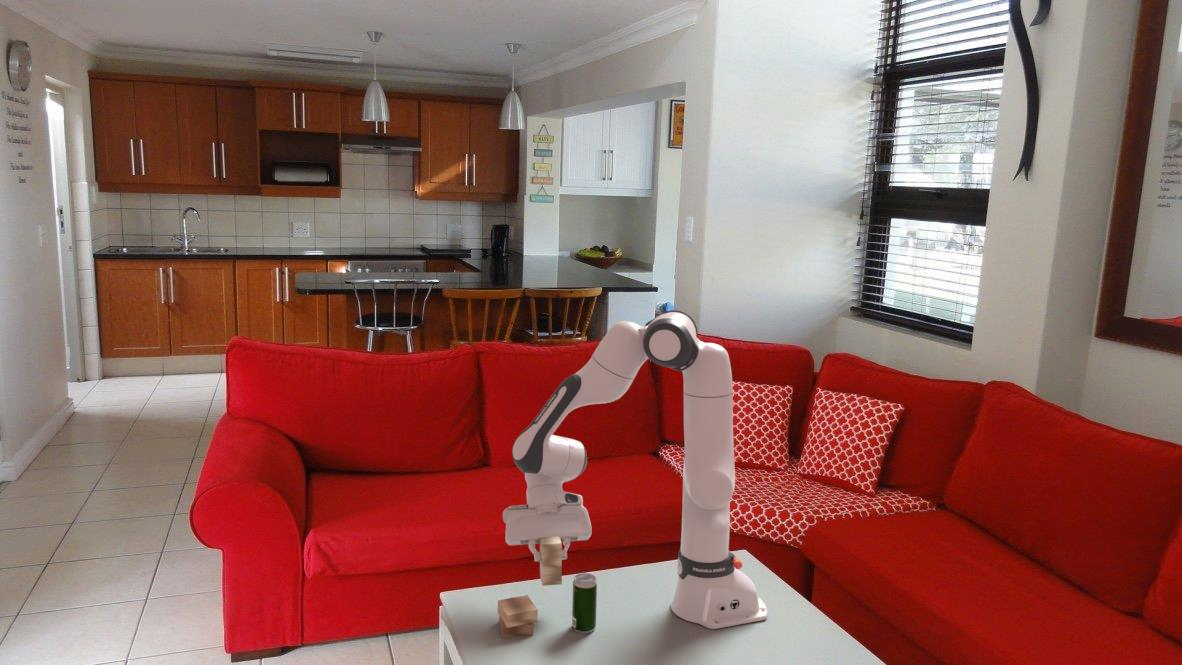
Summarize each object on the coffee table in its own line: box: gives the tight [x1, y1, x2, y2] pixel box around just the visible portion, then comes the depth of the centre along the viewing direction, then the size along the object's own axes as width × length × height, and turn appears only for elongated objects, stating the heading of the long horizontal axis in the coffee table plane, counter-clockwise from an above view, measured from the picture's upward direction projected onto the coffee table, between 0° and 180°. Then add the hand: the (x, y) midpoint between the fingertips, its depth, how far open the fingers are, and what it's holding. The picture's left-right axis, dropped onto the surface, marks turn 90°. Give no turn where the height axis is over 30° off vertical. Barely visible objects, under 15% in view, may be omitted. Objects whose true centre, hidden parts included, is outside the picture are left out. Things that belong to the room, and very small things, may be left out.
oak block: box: [497, 595, 539, 628], centre depth 187 cm, size 7×7×3 cm
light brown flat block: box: [498, 616, 534, 639], centre depth 187 cm, size 7×7×3 cm
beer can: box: [571, 572, 598, 635], centre depth 187 cm, size 5×5×12 cm
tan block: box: [539, 536, 563, 587], centre depth 194 cm, size 4×4×10 cm
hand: (551, 559), depth 193 cm, fingers closed on tan block, 4 cm apart
